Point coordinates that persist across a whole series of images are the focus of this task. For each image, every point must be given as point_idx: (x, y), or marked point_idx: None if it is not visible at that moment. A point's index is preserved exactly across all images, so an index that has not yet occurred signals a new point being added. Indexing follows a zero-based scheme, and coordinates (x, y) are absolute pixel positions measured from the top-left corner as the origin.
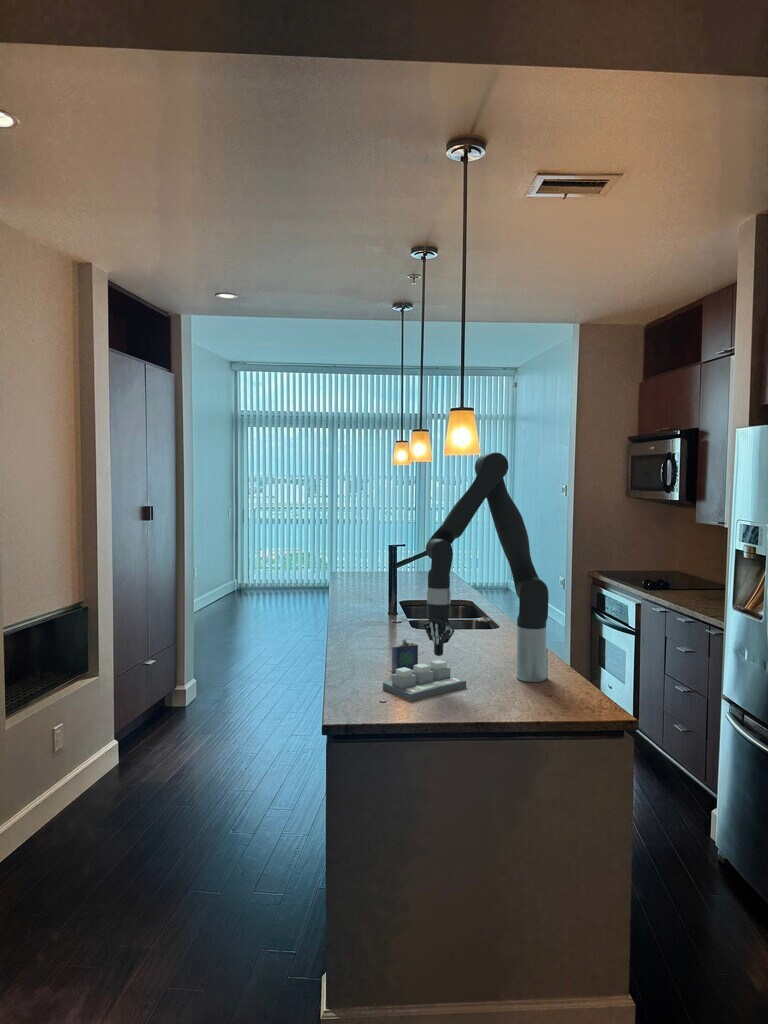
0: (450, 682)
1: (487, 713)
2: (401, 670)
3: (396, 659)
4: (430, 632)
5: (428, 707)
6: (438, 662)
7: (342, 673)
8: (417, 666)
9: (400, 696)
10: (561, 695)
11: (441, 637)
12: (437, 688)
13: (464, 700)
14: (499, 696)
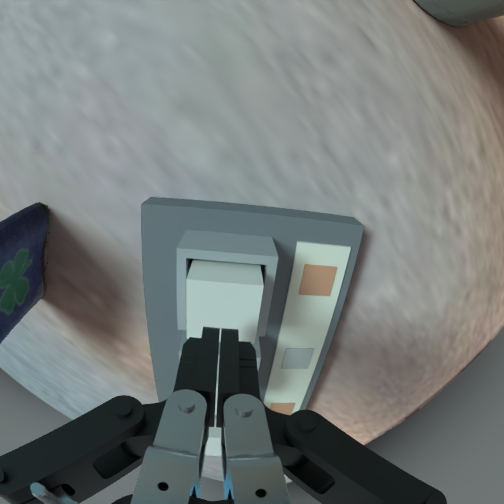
0: (331, 301)
1: (472, 331)
2: (219, 453)
3: (19, 317)
4: (97, 472)
5: (355, 405)
6: (231, 323)
7: (20, 373)
8: (215, 413)
9: None
10: None
11: (232, 451)
12: (323, 360)
13: (410, 320)
14: (472, 216)
